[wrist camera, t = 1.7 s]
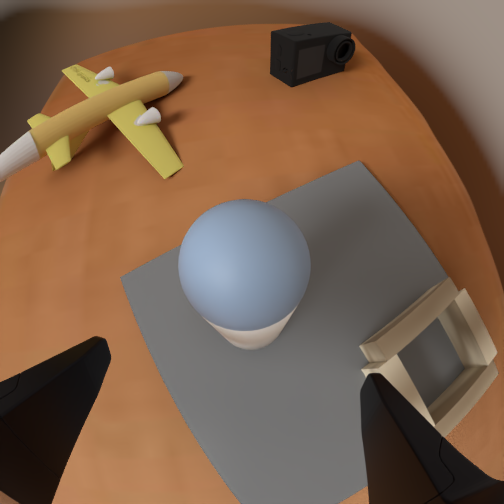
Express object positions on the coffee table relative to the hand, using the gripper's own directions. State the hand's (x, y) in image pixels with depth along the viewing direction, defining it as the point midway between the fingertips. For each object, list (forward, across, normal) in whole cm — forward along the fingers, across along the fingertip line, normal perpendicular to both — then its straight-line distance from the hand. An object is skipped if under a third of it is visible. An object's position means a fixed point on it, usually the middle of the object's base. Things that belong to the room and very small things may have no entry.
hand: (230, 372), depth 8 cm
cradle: (+8, -13, +7) cm, 17 cm away
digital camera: (+33, -4, -17) cm, 38 cm away
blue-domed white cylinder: (+9, 0, +4) cm, 10 cm away
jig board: (+9, -6, +6) cm, 12 cm away
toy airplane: (+23, +20, -7) cm, 31 cm away
